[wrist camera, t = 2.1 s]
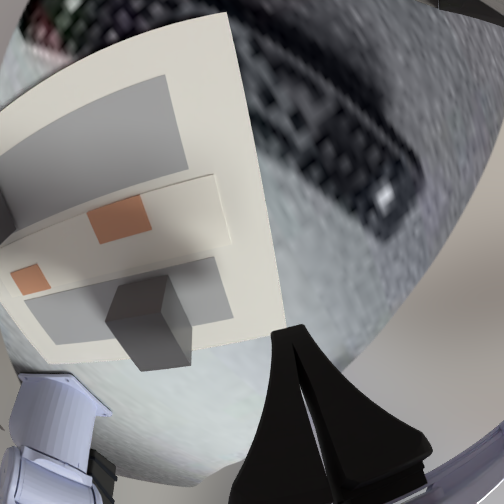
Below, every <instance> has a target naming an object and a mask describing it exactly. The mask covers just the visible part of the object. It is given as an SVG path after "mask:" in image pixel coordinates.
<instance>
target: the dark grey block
mask: <svg viewBox="0 0 504 504" xmlns="http://www.w3.org/2000/svg"><path fill="white" fill-rule="evenodd" d="M105 323H106V325H107V326H108V328H109V329H110V331H111V332H112V333H113V335H114V336H115V338H116V339H117V341H118V342H119V343H120V345H121V346H122V347H123V349H124V350H125V352H126V353H127V354H128V356H129V357H130V358H131V360H132V361H133V362H134V363H135V365H136V366H137V367H138V368H139V370H140V371H141V372H142V371H152V370H161V369H169V368H177V367H184V366H191V352H192V326H191V324H190V322H189V320H188V317H187V315H186V313H185V311H184V309H183V307H182V305H181V302H180V300H179V298H178V296H177V294H176V291H175V289H174V287H173V284H172V282H171V280H170V278H169V275H164V276H159V277H155V278H151V279H146V280H142V281H137V282H133V283H128V284H124V285H119V286H118V288H117V290H116V293H115V295H114V298H113V301H112V303H111V306H110V308H109V311H108V314H107V316H106V319H105Z"/></svg>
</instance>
